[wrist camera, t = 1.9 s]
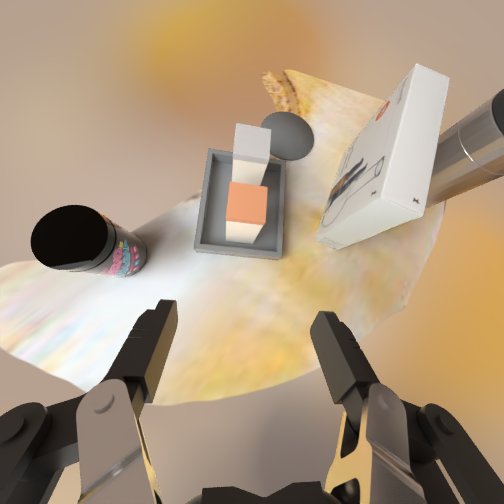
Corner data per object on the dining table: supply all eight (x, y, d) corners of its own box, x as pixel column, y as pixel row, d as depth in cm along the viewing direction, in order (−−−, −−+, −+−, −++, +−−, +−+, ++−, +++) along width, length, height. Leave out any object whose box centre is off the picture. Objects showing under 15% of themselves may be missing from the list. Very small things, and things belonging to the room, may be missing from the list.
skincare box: (341, 151, 39) (417, 59, 23) (364, 163, 39) (455, 78, 24) (310, 240, 33) (382, 195, 18) (337, 252, 34) (431, 218, 18)
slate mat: (310, 117, 39) (311, 115, 39) (314, 162, 37) (315, 160, 37) (259, 110, 38) (259, 108, 37) (260, 157, 35) (261, 155, 35)
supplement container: (99, 280, 27) (26, 274, 17) (101, 236, 28) (33, 206, 18) (149, 275, 28) (107, 266, 18) (148, 233, 30) (109, 203, 19)
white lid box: (233, 171, 34) (236, 122, 24) (258, 175, 34) (271, 129, 24) (230, 194, 33) (232, 153, 23) (256, 198, 33) (269, 159, 23)
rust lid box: (228, 215, 32) (229, 181, 22) (254, 218, 32) (267, 187, 23) (225, 241, 31) (225, 217, 21) (252, 243, 31) (265, 222, 22)
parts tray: (209, 158, 34) (208, 148, 31) (281, 170, 36) (285, 161, 33) (196, 251, 30) (193, 248, 28) (277, 260, 32) (281, 257, 29)
